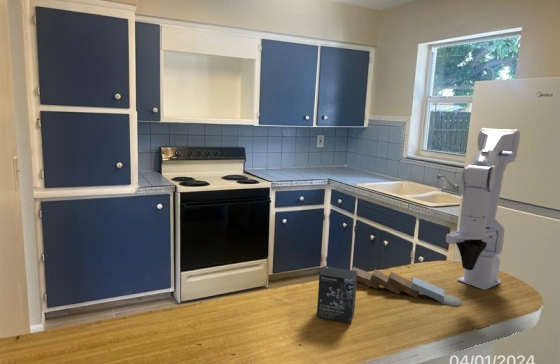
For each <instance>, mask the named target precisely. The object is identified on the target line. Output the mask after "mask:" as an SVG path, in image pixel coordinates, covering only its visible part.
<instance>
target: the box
mask: <svg viewBox="0 0 560 364" xmlns="http://www.w3.org/2000/svg"><path fill="white" fill-rule="evenodd" d="M356 284H357V271H354V270H352V269H347V268H346V269H344V268H338V267H330V266H328V265H327V266H326V265H324V266H323V267H322V269H321V271H320V273H319V274H318V289H317V290H318V291H317V305H316V306H317V307H316V318H317V319H318V318H319V319H324V320H328V321H334V322H340V323H344V324H348V325H351V324H352V321H353V318H354V314H355V308H356V306H355V304H356V297H357V286H356Z"/></svg>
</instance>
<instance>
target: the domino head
mask: <svg viewBox="0 0 560 364" xmlns="http://www.w3.org/2000/svg"><path fill="white" fill-rule="evenodd" d="M410 288H411V289H414V290H416V291H418V292H419V294H420V293H421V294H423V295H425V296H427V297H430V298H432V299H434V300H436V301H437V300H438V301H437V302H439V301H441V302H442V300H443V298H444V295H445V289H443V288H441V287H440V286H437V285H434V284H432V283H429V282H427V281H425V280H422V279H420V278H418V277H415V276H413V278H412V279H411V287H410Z"/></svg>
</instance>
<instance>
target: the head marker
mask: <svg viewBox="0 0 560 364" xmlns="http://www.w3.org/2000/svg"><path fill="white" fill-rule="evenodd" d="M436 301H437V302H438V303H441V304H443V305H445V306H450V307H459V306H461V305H462V304H463V301H462V300H461V299H460V298H458V297H456V296H453V295H450V294H444V298H443V300H442V302H441V301H438V300H436Z"/></svg>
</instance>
